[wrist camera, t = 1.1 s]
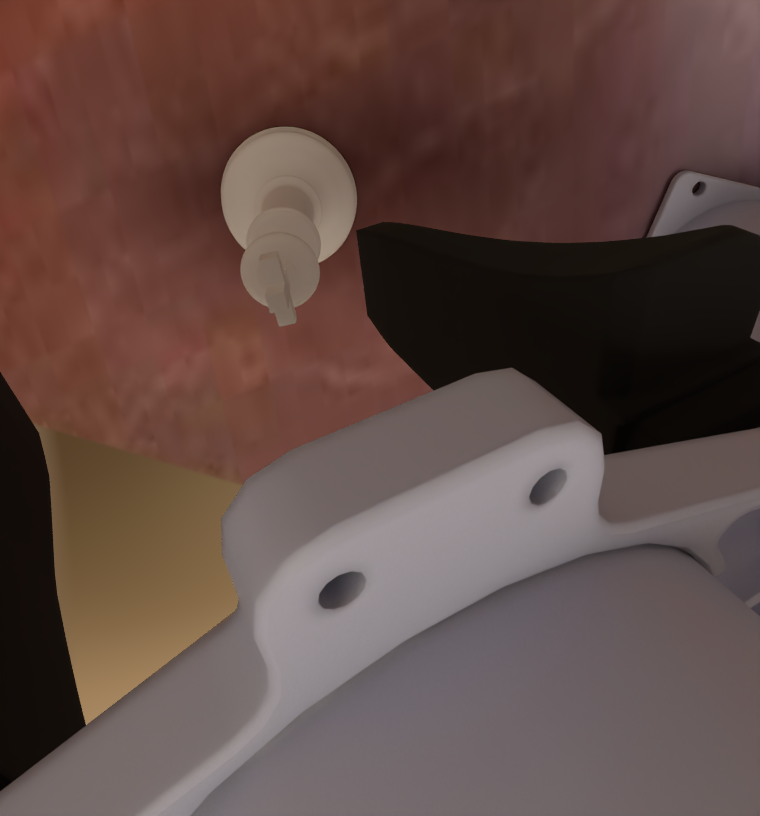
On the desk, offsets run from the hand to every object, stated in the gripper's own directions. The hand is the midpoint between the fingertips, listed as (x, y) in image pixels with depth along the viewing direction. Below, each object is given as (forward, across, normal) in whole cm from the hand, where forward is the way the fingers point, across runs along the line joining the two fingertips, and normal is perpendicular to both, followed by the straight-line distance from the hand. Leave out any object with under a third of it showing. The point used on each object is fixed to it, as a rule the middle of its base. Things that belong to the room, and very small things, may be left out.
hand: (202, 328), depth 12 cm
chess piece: (+11, -6, +2) cm, 12 cm away
